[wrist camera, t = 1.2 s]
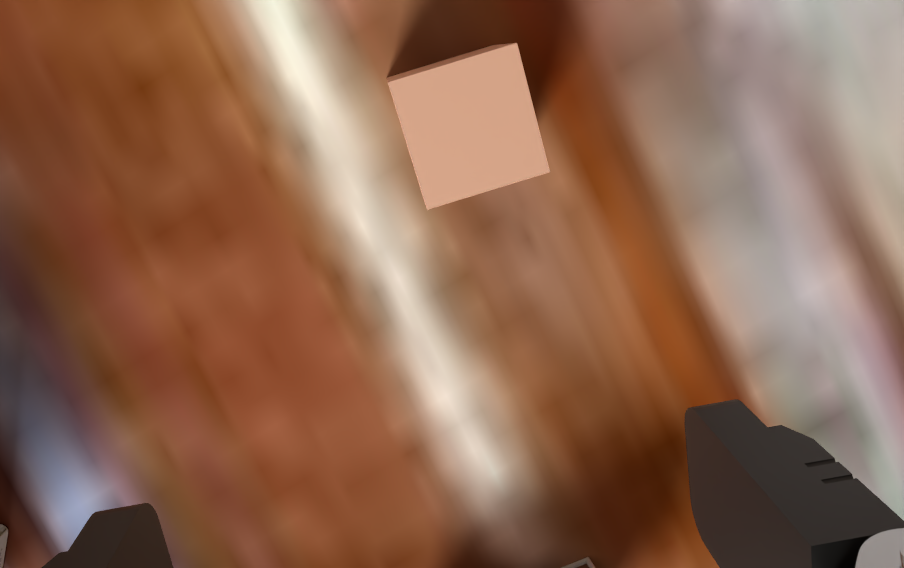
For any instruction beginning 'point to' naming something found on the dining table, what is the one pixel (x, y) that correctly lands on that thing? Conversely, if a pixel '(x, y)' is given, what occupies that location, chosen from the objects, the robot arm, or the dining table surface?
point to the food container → (581, 564)
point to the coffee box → (3, 543)
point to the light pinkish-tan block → (469, 124)
